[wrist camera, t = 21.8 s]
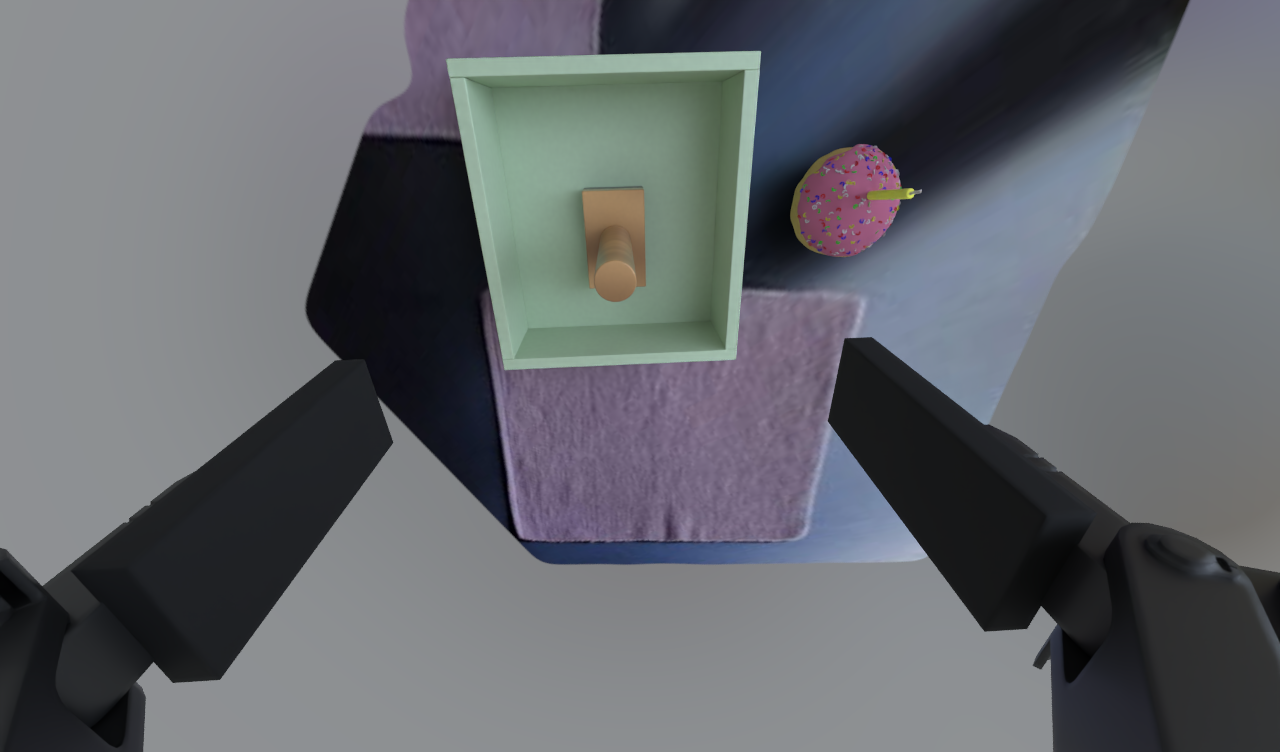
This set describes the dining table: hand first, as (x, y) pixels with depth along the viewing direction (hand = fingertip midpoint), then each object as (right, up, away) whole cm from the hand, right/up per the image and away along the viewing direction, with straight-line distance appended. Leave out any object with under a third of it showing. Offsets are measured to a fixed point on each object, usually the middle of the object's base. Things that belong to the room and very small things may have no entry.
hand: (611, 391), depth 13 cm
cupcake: (+17, +17, +28) cm, 37 cm away
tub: (-1, +15, +28) cm, 32 cm away
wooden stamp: (-1, +13, +28) cm, 31 cm away
